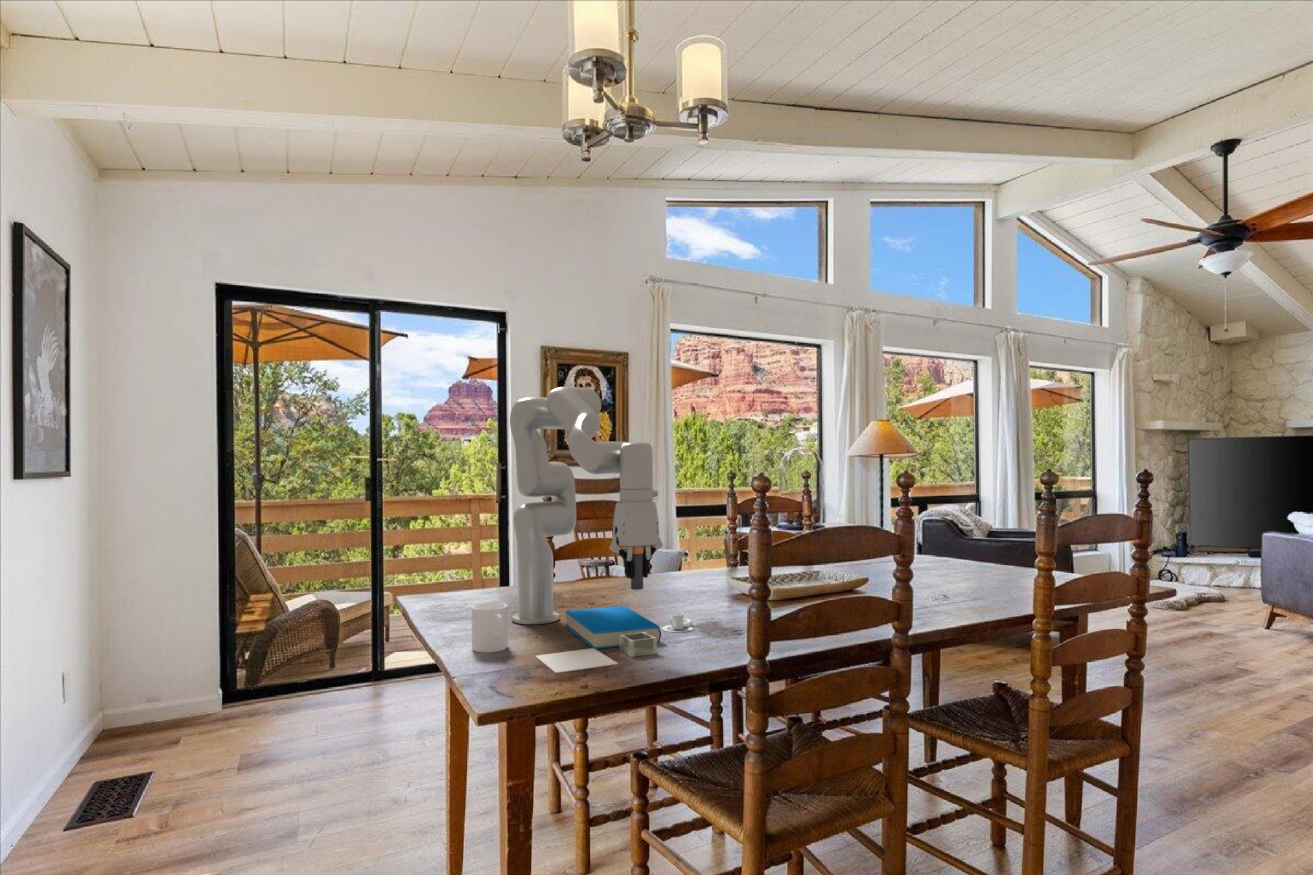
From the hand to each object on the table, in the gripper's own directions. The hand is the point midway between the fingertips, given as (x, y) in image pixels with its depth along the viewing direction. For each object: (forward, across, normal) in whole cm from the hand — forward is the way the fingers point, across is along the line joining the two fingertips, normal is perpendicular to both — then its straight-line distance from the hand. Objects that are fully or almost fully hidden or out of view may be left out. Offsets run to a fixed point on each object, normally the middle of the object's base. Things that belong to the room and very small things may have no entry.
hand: (636, 576), depth 176 cm
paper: (+17, +15, 0) cm, 23 cm away
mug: (+17, +29, -17) cm, 38 cm away
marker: (+3, 0, 0) cm, 3 cm away
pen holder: (+17, 0, 0) cm, 17 cm away
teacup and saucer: (+18, -21, -14) cm, 31 cm away
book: (+17, -1, -18) cm, 25 cm away
